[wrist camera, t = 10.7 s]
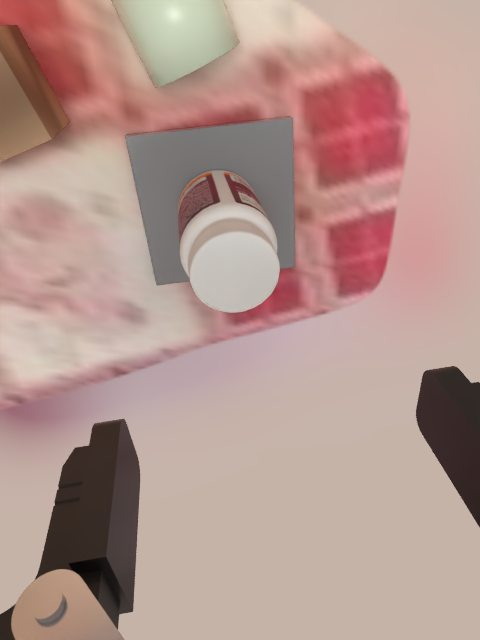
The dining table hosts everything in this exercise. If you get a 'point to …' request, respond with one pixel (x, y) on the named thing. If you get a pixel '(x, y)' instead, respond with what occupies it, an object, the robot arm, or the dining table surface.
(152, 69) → the green tub
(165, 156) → the plate
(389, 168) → the dining table surface
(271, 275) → the pill bottle
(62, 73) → the dining table surface
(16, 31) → the walnut cube
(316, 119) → the dining table surface
